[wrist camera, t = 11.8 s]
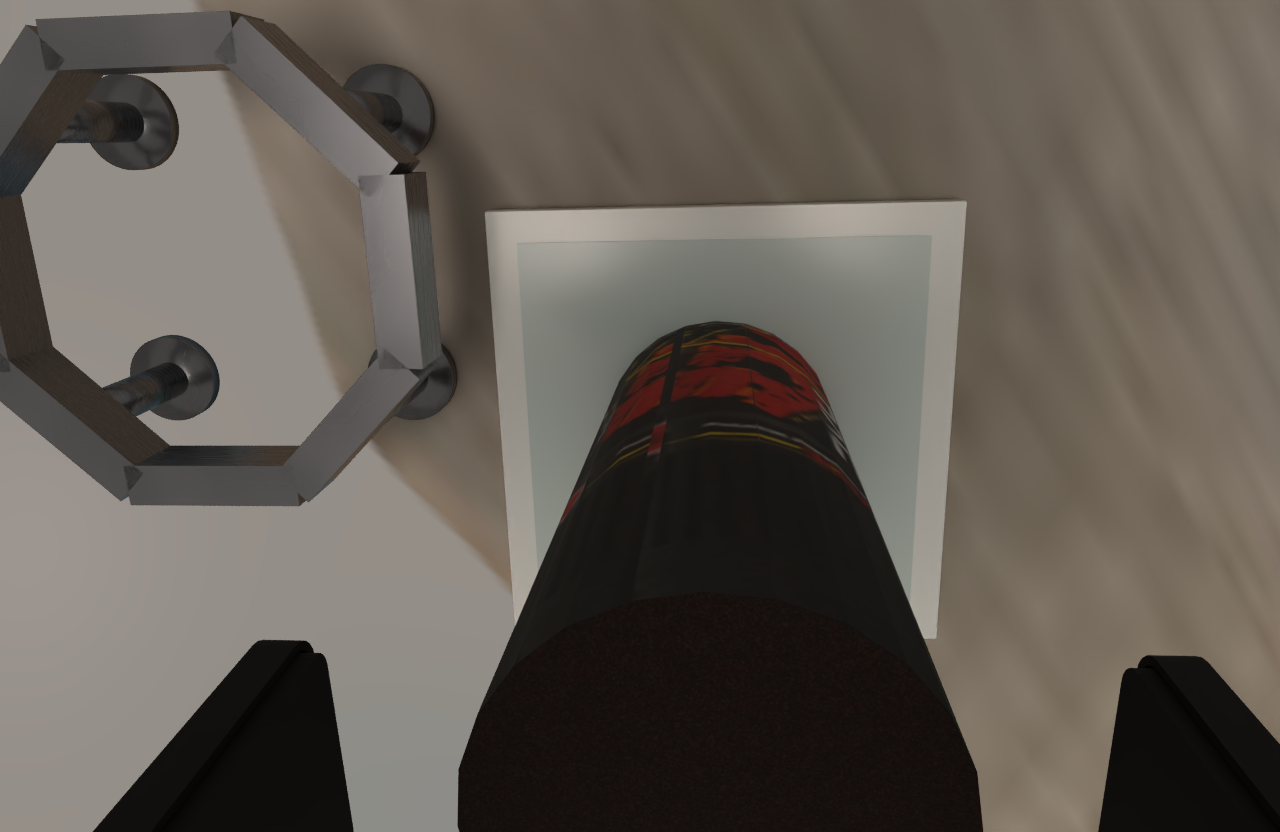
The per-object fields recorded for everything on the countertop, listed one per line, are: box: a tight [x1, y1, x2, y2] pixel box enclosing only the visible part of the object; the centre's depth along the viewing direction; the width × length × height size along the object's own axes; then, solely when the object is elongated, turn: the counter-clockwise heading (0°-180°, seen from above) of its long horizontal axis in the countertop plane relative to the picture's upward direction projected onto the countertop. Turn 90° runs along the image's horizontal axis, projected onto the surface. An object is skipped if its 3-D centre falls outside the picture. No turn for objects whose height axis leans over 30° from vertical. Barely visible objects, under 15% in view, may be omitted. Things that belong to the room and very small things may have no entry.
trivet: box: [485, 199, 967, 639], centre depth 25 cm, size 12×12×1 cm
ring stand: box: [0, 11, 457, 506], centre depth 23 cm, size 11×11×5 cm
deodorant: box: [458, 321, 983, 832], centre depth 18 cm, size 6×6×15 cm
